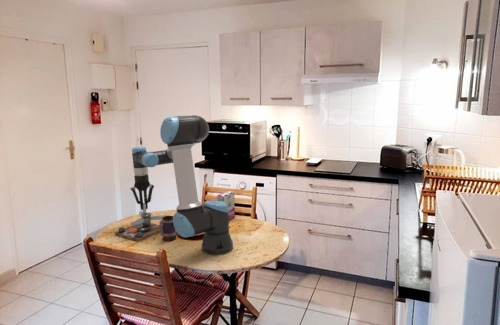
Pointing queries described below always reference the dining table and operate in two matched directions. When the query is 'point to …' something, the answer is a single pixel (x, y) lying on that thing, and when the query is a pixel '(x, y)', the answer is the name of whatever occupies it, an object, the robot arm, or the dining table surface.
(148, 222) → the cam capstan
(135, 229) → the ball
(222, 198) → the candy bar box
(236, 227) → the dining table surface
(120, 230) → the walnut stand
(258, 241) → the dining table surface
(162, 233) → the mug
